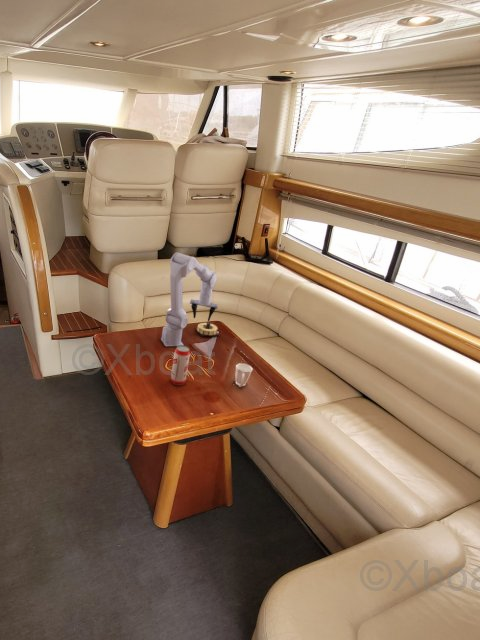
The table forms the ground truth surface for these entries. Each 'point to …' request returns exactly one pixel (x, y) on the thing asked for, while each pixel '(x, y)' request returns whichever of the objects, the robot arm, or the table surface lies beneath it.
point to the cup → (242, 374)
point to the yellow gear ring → (203, 330)
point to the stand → (207, 328)
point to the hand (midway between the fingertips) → (201, 318)
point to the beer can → (180, 365)
